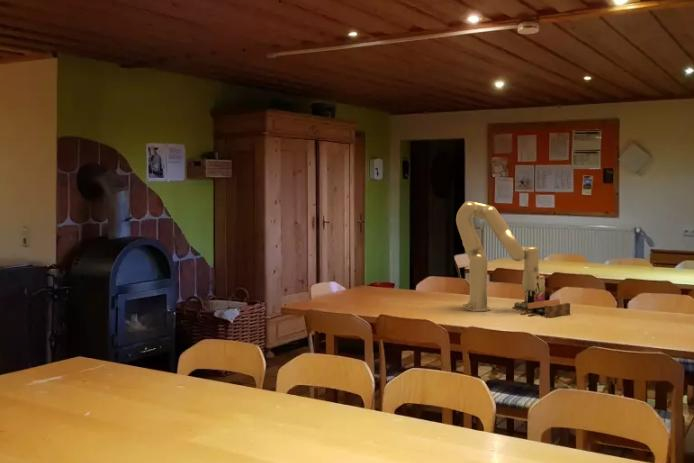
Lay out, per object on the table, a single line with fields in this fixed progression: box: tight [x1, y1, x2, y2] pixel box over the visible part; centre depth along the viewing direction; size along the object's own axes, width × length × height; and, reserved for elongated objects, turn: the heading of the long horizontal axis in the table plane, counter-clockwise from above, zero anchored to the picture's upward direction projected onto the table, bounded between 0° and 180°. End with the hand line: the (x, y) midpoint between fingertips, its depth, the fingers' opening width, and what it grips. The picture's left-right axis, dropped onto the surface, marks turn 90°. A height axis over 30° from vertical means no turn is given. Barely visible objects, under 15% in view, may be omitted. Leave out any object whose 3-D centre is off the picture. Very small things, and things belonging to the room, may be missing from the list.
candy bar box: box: [523, 275, 546, 303], centre depth 407 cm, size 11×5×16 cm, turn 84°
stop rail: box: [544, 302, 571, 319], centre depth 373 cm, size 16×2×6 cm, turn 120°
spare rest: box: [520, 311, 537, 318], centre depth 377 cm, size 5×6×1 cm
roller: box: [536, 307, 545, 315], centre depth 382 cm, size 7×3×3 cm, turn 120°
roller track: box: [511, 300, 545, 316], centre depth 387 cm, size 9×25×4 cm, turn 30°
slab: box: [527, 298, 561, 309], centre depth 380 cm, size 11×13×3 cm
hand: (530, 302), depth 390 cm, fingers closed
